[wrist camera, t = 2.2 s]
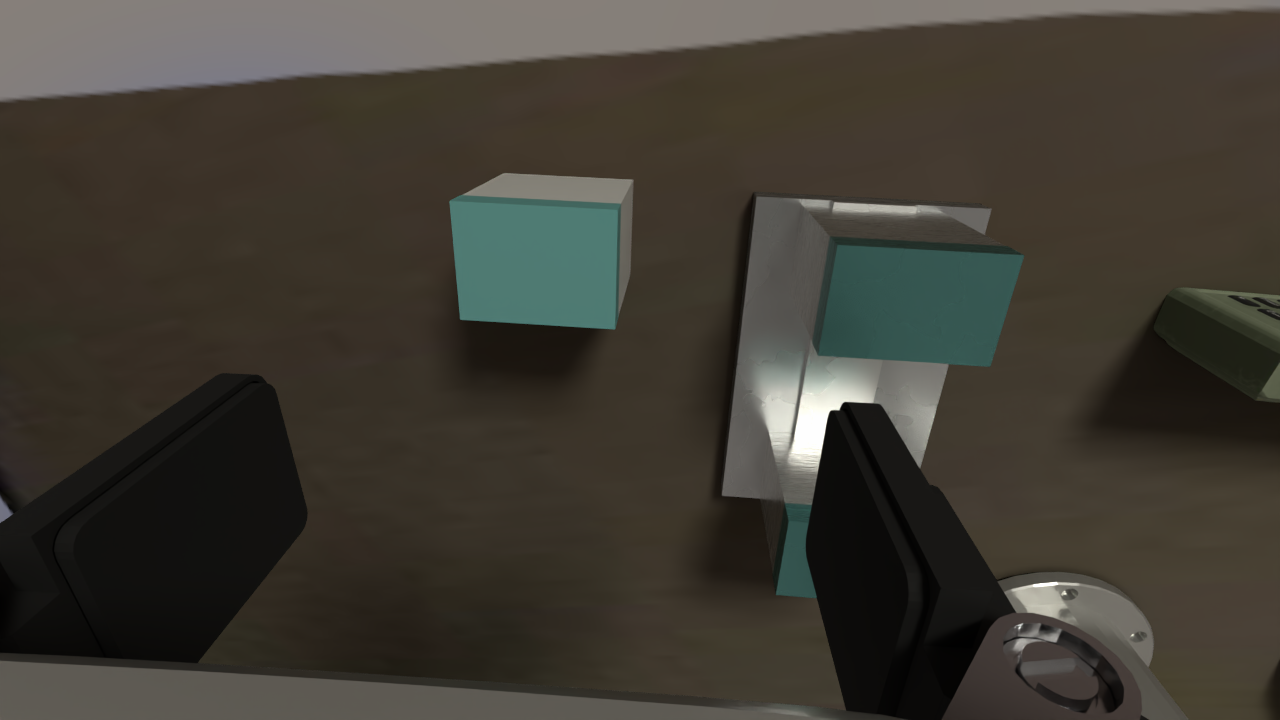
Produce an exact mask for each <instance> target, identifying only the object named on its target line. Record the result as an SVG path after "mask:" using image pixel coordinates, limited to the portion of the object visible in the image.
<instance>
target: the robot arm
mask: <svg viewBox="0 0 1280 720" xmlns="http://www.w3.org/2000/svg"><path fill="white" fill-rule="evenodd" d="M306 521H307V507H306V503H305V499H304V495H303V492H302V488H301V484H300V480H299V477H298V473H297V469H296V465H295V462H294V458H293V454H292V450H291V447H290V443H289V439H288V435H287V431H286V428H285V424H284V420H283V416H282V413H281V409H280V405H279V401H278V398H277V394H276V391H275V389H274V388H273V386H272V385H270V384H267V383H266V381H265V380H264V379H263V377H261V376H259V375H251V374H229V373H222V374H219V375H217V376H215V377H214V378H212V379H211V380H209V381H208V382H206V383H205V384H204V385H202V386H201V387H199V388H198V389H196V390H195V391H193V392H192V393H190V394H189V395H187V396H186V397H184V398H183V399H182V400H180V401H179V402H177V403H176V404H174V405H173V406H171V407H170V408H168V409H167V410H165V411H164V412H162V413H161V414H160V415H158V416H157V417H155V418H154V419H152V420H151V421H149V422H148V423H146V424H145V425H143V426H142V427H140V428H139V429H138V430H136V431H135V432H133V433H132V434H130V435H129V436H127V437H126V438H124V439H123V440H121V441H120V442H118V443H117V444H116V445H114V446H113V447H111V448H110V449H108V450H107V451H105V452H104V453H102V454H101V455H99V456H98V457H97V458H95V459H94V460H92V461H91V462H89V463H88V464H86V465H85V466H83V467H82V468H80V469H79V470H77V471H76V472H75V473H73V474H72V475H70V476H69V477H67V478H66V479H64V480H63V481H61V482H60V483H58V484H57V485H55V486H54V487H53V488H51V489H50V490H48V491H47V492H45V493H44V494H42V495H41V496H39V497H38V498H36V499H35V500H33V501H32V502H31V503H29V504H28V505H26V506H25V507H23V508H22V509H20V510H19V511H17V512H16V513H14V514H13V515H11V516H10V517H9V518H7V519H6V520H5V521H3V522H1V523H0V720H1189V719H1188V718H1187V717H1186V715H1185V714H1184V713H1183V712H1182V710H1181V709H1180V708H1179V706H1178V705H1177V704H1176V703H1175V701H1174V700H1173V699H1172V697H1171V696H1170V695H1169V694H1168V692H1167V691H1166V690H1165V688H1164V687H1163V686H1162V685H1161V683H1160V682H1159V681H1158V679H1157V678H1156V677H1155V676H1154V674H1153V673H1152V672H1151V670H1150V669H1149V668H1148V667H1149V664H1150V662H1151V659H1152V657H1153V648H1154V639H1153V633H1152V628H1151V626H1150V624H1149V623H1148V621H1147V619H1146V617H1145V615H1144V614H1143V613H1142V612H1141V610H1140V609H1139V608H1138V607H1137V606H1136V605H1135V603H1134V602H1133V601H1132V600H1131V599H1130V598H1129V597H1128V596H1127V595H1125V594H1124V593H1123V592H1122V591H1120V590H1119V589H1118V588H1116V587H1114V586H1112V585H1110V584H1108V583H1106V582H1104V581H1102V580H1100V579H1096V578H1092V577H1089V576H1085V575H1082V574H1074V573H1065V572H1037V573H1031V574H1025V575H1018V576H1013V577H1010V578H1007V579H1003V580H1000V581H997V580H996V578H995V577H994V575H993V574H992V572H991V570H990V569H989V567H988V565H987V564H986V562H985V561H984V559H983V557H982V556H981V554H980V552H979V551H978V549H977V548H976V546H975V544H974V543H973V541H972V540H971V538H970V536H969V535H968V533H967V531H966V530H965V528H964V527H963V525H962V523H961V522H960V520H959V518H958V517H957V515H956V514H955V512H954V510H953V509H952V507H951V505H950V504H949V502H948V501H947V499H946V497H945V496H944V494H943V493H942V492H941V491H940V489H939V488H938V487H936V486H933V485H929V483H928V482H927V480H926V478H925V477H924V475H923V473H922V472H921V470H920V468H919V467H918V465H917V463H916V462H915V460H914V458H913V457H912V455H911V453H910V451H909V450H908V448H907V446H906V445H905V443H904V441H903V440H902V438H901V436H900V435H899V433H898V431H897V430H896V428H895V426H894V425H893V423H892V421H891V420H890V418H889V416H888V415H887V413H886V411H885V410H884V408H883V406H882V405H881V404H878V403H859V402H844V403H843V404H842V405H841V407H840V410H831V411H830V412H829V414H828V418H827V424H826V429H825V435H824V440H823V446H822V451H821V457H820V462H819V468H818V473H817V479H816V484H815V490H814V496H813V501H812V507H811V512H810V518H809V523H808V529H807V534H806V557H807V562H808V566H809V569H810V573H811V577H812V581H813V585H814V589H815V592H816V596H817V600H818V604H819V608H820V612H821V615H822V619H823V623H824V627H825V631H826V634H827V638H828V642H829V646H830V650H831V654H832V657H833V661H834V665H835V669H836V673H837V677H838V680H839V684H840V688H841V692H842V696H843V699H844V703H845V707H846V711H845V710H837V709H830V708H822V707H812V706H801V705H790V704H779V703H767V702H755V701H744V700H732V699H721V698H709V697H698V696H685V695H671V694H657V693H642V692H628V691H614V690H600V689H585V688H571V687H557V686H543V685H529V684H514V683H500V682H485V681H470V680H455V679H439V678H424V677H409V676H394V675H378V674H362V673H347V672H331V671H315V670H299V669H284V668H268V667H251V666H234V665H217V664H200V663H198V661H199V660H200V659H201V658H202V656H203V655H204V654H205V653H206V651H207V650H208V649H209V648H210V646H211V645H212V644H213V643H214V641H215V640H216V639H217V638H218V636H219V635H220V634H221V633H222V631H223V630H224V629H225V628H226V626H227V625H228V624H229V623H230V621H231V620H232V619H233V618H234V616H235V615H236V614H237V613H238V611H239V610H240V609H241V607H242V606H243V605H244V604H245V602H246V601H247V600H248V599H249V597H250V596H251V595H252V594H253V592H254V591H255V590H256V589H257V587H258V586H259V585H260V584H261V582H262V581H263V580H264V579H265V577H266V576H267V575H268V574H269V572H270V571H271V570H272V569H273V567H274V566H275V565H276V564H277V562H278V561H279V560H280V559H281V557H282V556H283V555H284V554H285V552H286V551H287V550H288V549H289V547H290V546H291V545H292V544H293V542H294V541H295V540H296V539H297V537H298V536H299V535H300V533H301V532H302V531H303V529H304V527H305V524H306Z"/></svg>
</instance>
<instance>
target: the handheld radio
mask: <svg viewBox="0 0 1280 720" xmlns="http://www.w3.org/2000/svg"><path fill="white" fill-rule="evenodd" d="M1153 329H1154V330H1155V332H1156V333H1157V334H1158V335H1159V336H1160V337H1162V338H1163V339H1165V340H1166V342H1167V344H1168V345H1170V346H1171V347H1172V348H1174V349H1175V350H1176V351H1178V352H1179V353H1181V354H1183V355H1184V356H1186V357H1187V358H1189V359H1191V360H1192V361H1194V362H1195V363H1197V364H1198V365H1200V366H1202V367H1203V368H1205V369H1206V370H1208V371H1209V372H1211V373H1213V374H1214V375H1216V376H1217V377H1219V378H1221V379H1222V380H1224V381H1225V382H1227V383H1228V384H1230V385H1232V386H1233V387H1235V388H1236V389H1238V390H1240V391H1241V392H1243V393H1244V394H1246V395H1247V396H1249V397H1251V398H1252V399H1254V400H1256V401H1266V402H1277V403H1280V295H1268V294H1256V293H1244V292H1232V291H1220V290H1208V289H1196V288H1176V289H1174V290H1172V291H1171V292H1170V293H1169V294H1167V296H1166V298H1165V301H1164V303H1163V305H1162V308H1161V310H1160V312H1159V314H1158V317H1157V319H1156V321H1155V324H1154V328H1153Z"/></svg>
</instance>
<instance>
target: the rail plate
mask: <svg viewBox="0 0 1280 720" xmlns="http://www.w3.org/2000/svg"><path fill="white" fill-rule="evenodd" d="M990 213H991V208H988V207H986V206H984V205H982V204H977V203H958V202H939V201H919V200H900V199H881V198H861V197H842V196H823V195H803V194H784V193H765V192H754V196H753V205H752V214H751V222H750V231H749V240H748V249H747V257H746V266H745V275H744V284H743V292H742V301H741V310H740V319H739V327H738V336H737V345H736V354H735V362H734V371H733V380H732V389H731V397H730V406H729V415H728V424H727V432H726V441H725V450H724V459H723V467H722V476H721V491H722V496H732V497H746V498H759V499H760V501H761V507H762V513H763V519H764V525H765V531H766V537H767V542H768V548H769V554H770V560H771V566H772V572H773V581H774V587H775V593H776V595H784V596H796V597H808V598H817V596H816V592H815V589H814V585H813V581H812V577H811V573H810V569H809V566H808V562H807V557H806V534H807V529H808V523H809V518H810V512H811V507H812V501H813V496H814V490H815V484H816V479H817V473H818V468H819V462H820V457H821V451H822V446H823V440H824V435H825V429H826V424H827V418H828V414H829V412H830V411H831V410H840V407H841V405H842V404H843V403H844V402H859V403H878V404H881V405H882V406H883V408H884V410H885V411H886V413H887V415H888V416H889V418H890V420H891V421H892V423H893V425H894V426H895V428H896V430H897V431H898V433H899V435H900V436H901V438H902V440H903V441H904V443H905V445H906V446H907V448H908V450H909V451H910V453H911V455H912V457H913V458H914V460H915V462H916V463H917V465H918V467H919V468H920V467H921V463H922V460H923V456H924V452H925V449H926V445H927V441H928V438H929V434H930V431H931V427H932V423H933V420H934V416H935V412H936V409H937V405H938V402H939V398H940V394H941V391H942V387H943V383H944V380H945V376H946V373H947V369H948V365H949V364H956V365H972V366H987V367H990V365H991V362H992V359H993V356H994V352H995V349H996V346H997V343H998V339H999V336H1000V333H1001V329H1002V326H1003V323H1004V320H1005V316H1006V313H1007V310H1008V307H1009V303H1010V300H1011V297H1012V294H1013V290H1014V287H1015V284H1016V281H1017V277H1018V274H1019V271H1020V268H1021V264H1022V261H1023V258H1024V255H1023V254H1021V253H1019V252H1017V251H1015V250H1013V249H1012V248H1010V247H1008V246H1004V245H1002V244H1001V243H999V242H997V241H995V240H993V239H991V238H989V237H988V236H986V235H985V231H986V227H987V224H988V220H989V216H990Z"/></svg>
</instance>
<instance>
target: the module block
mask: <svg viewBox="0 0 1280 720" xmlns="http://www.w3.org/2000/svg"><path fill="white" fill-rule="evenodd" d="M632 205H633V180H626V179H607V178H587V177H567V176H548V175H528V174H509V173H503V174H501V175H499V176H498V177H496V178H494V179H492V180H490V181H488V182H486V183H484V184H482V185H481V186H479V187H477V188H475V189H473V190H471V191H469V192H467V193H465V194H464V195H460V196H458V197H456V198H454V199H452V200H450V211H451V222H452V233H453V245H454V256H455V267H456V278H457V290H458V301H459V312H460V320H473V321H489V322H505V323H521V324H537V325H553V326H569V327H585V328H601V329H615V328H616V324H617V321H618V315H619V312H620V308H621V305H622V301H623V298H624V295H625V291H626V288H627V284H628V281H629V277H630V265H631V235H632Z"/></svg>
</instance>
